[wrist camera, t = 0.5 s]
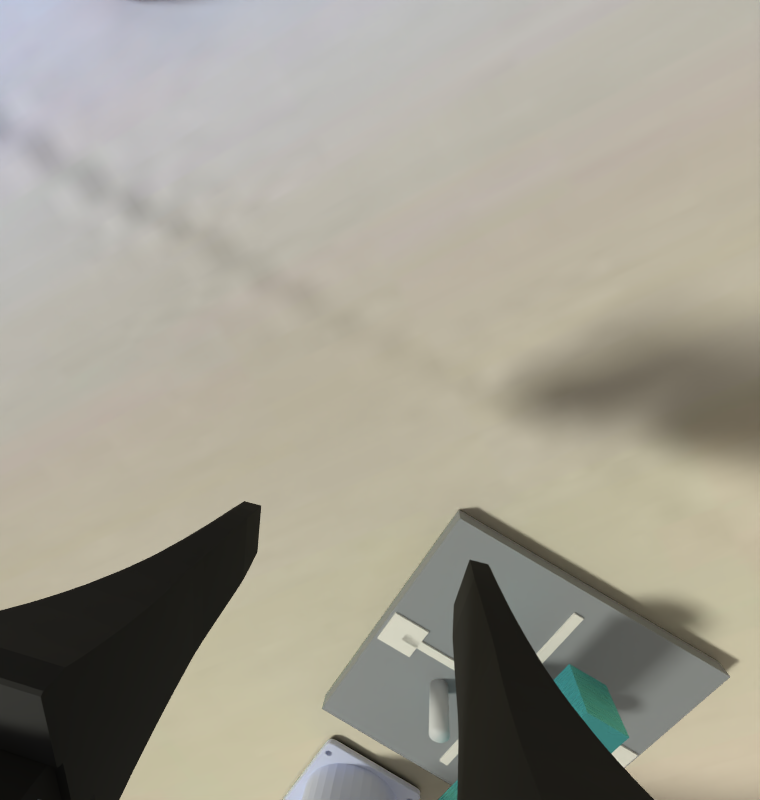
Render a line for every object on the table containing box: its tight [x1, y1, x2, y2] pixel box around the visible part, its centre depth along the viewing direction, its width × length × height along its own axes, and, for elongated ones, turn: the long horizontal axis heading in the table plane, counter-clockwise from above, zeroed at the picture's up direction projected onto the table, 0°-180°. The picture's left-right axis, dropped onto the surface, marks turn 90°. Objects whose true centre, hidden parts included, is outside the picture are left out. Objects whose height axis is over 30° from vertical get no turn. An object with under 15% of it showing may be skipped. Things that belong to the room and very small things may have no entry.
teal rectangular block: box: [438, 664, 629, 800], centre depth 21 cm, size 13×5×4 cm, turn 151°
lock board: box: [322, 510, 730, 785], centre depth 24 cm, size 18×18×4 cm
